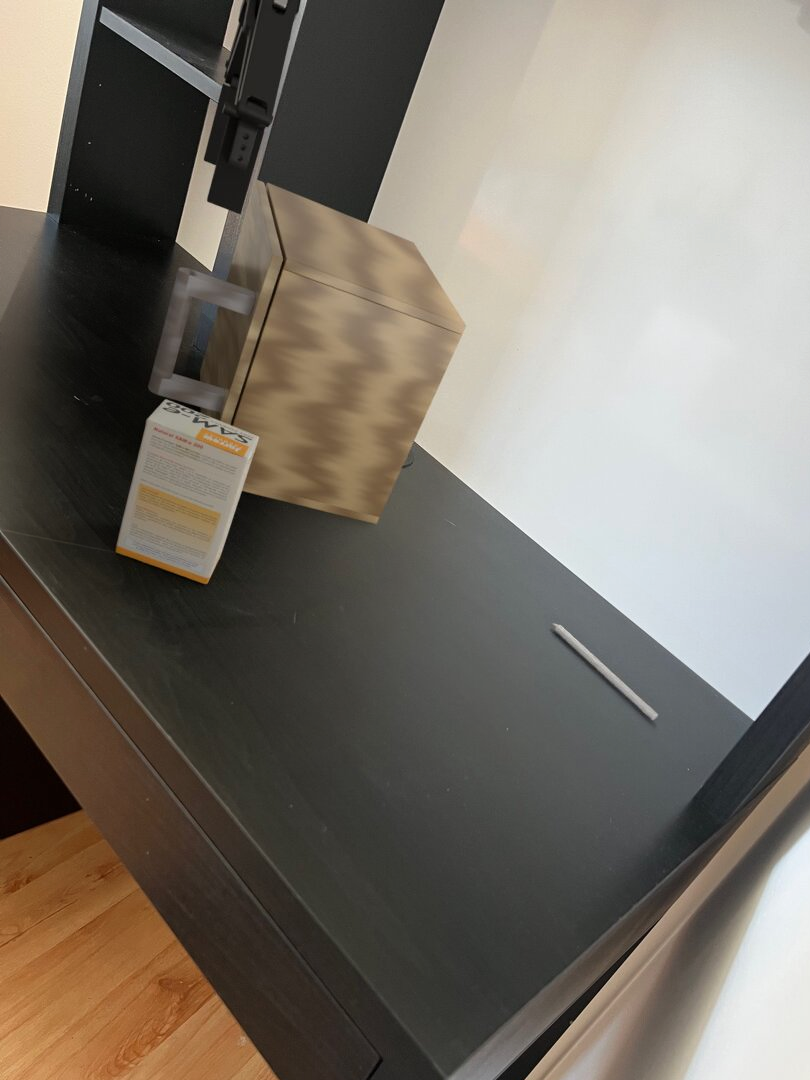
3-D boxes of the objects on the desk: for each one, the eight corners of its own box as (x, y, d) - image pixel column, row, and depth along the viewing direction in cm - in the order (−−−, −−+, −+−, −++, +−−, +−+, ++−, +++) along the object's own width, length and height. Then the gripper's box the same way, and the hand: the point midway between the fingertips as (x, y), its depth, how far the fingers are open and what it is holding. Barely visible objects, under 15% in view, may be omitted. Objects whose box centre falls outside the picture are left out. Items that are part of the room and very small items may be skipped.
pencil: (555, 620, 93) (658, 715, 86) (550, 626, 93) (653, 721, 86) (554, 618, 92) (658, 713, 86) (548, 624, 92) (652, 720, 86)
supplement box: (220, 559, 77) (263, 435, 70) (206, 587, 73) (250, 459, 66) (130, 525, 75) (165, 395, 69) (111, 552, 71) (146, 417, 65)
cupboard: (213, 484, 86) (286, 258, 74) (209, 375, 106) (267, 182, 94) (376, 524, 94) (466, 325, 82) (344, 416, 114) (413, 242, 101)
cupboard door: (130, 462, 83) (191, 224, 71) (142, 354, 102) (192, 153, 90) (211, 482, 86) (283, 258, 74) (208, 374, 106) (264, 182, 94)
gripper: (373, -72, 55) (274, 246, 66) (325, -82, 74) (254, 167, 84) (260, -136, 52) (175, 209, 63) (239, -131, 70) (177, 135, 81)
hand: (220, 185), depth 73 cm, fingers open, 13 cm apart
